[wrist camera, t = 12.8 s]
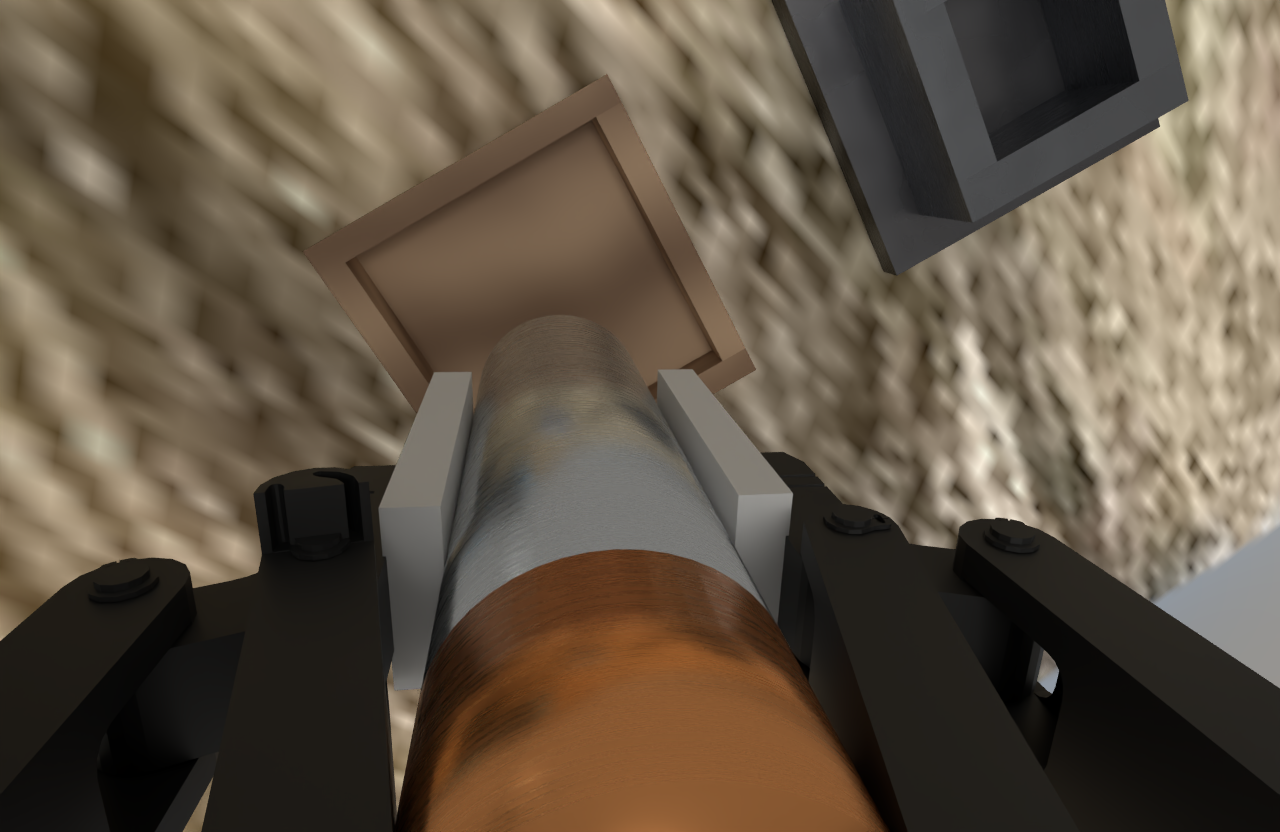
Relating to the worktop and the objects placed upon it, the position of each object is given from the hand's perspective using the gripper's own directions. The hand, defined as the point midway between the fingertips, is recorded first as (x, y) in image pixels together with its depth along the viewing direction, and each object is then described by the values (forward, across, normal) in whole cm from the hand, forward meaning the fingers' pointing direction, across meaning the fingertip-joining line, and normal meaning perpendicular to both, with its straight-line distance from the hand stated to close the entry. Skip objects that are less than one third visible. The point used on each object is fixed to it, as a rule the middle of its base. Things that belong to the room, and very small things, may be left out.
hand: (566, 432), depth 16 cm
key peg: (+3, 0, 0) cm, 3 cm away
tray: (+15, 0, 0) cm, 15 cm away
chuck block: (+15, +16, +10) cm, 24 cm away
